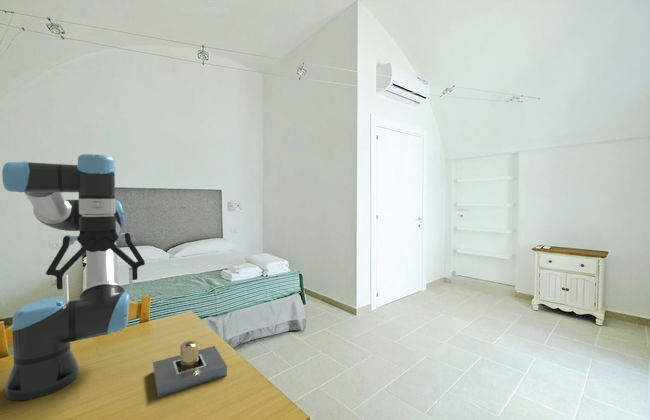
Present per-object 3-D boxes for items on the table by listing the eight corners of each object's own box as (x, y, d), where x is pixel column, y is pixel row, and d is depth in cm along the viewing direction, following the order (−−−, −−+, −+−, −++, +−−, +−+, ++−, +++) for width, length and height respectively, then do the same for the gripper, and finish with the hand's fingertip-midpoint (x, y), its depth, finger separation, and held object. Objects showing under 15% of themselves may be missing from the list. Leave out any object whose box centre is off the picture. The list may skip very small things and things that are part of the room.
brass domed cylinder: (179, 372, 90) (179, 342, 90) (196, 367, 93) (196, 338, 93) (182, 380, 86) (181, 349, 86) (199, 375, 89) (199, 345, 89)
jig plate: (153, 371, 91) (152, 361, 90) (214, 354, 101) (214, 345, 101) (157, 397, 79) (157, 386, 79) (226, 375, 89) (226, 365, 89)
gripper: (27, 218, 67) (30, 310, 68) (154, 214, 81) (156, 292, 82) (35, 216, 74) (38, 301, 75) (152, 213, 88) (153, 285, 89)
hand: (100, 296), depth 79 cm, fingers open, 13 cm apart
